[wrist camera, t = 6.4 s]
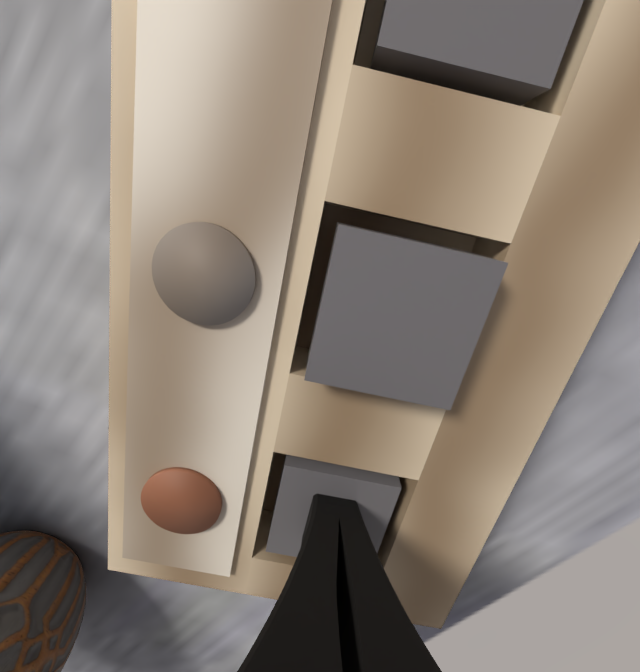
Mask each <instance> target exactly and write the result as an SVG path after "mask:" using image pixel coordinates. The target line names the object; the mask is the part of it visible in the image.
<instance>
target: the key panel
mask: <svg viewBox="0 0 640 672" xmlns="http://www.w3.org/2000/svg"><path fill="white" fill-rule="evenodd" d="M384 2H385V0H112V33H111V178H110V322H109V467H108V570H113V571H119V572H124V573H130V574H135V575H141V576H147V577H152V578H158V579H164V580H169V581H175V582H180V583H186V584H192V585H197V586H203V587H209V588H214V589H220V590H225V591H231V592H237V593H242V594H248V595H254V596H259V597H265V598H270V599H276V600H278V598H279V596H280V594H281V592H282V590H283V588H284V586H285V583H286V581H287V579H288V577H289V574H290V572H291V570H292V567H293V565H294V563H295V560H296V558H297V557H293V556H287V555H282V554H277V553H271V552H266V546H267V541H268V536H269V530H270V525H271V520H272V515H273V510H274V505H275V500H276V495H277V491H278V486H279V482H280V477H281V473H282V468H283V463H284V459H285V454H287V455H292V456H297V457H302V458H307V459H312V460H317V461H322V462H328V463H333V464H338V465H343V466H348V467H353V468H358V469H363V470H368V471H373V472H378V473H384V474H389V475H394V476H399V480H400V484H401V491H400V494H399V496H398V499H397V502H396V504H395V507H394V510H393V513H392V515H391V518H390V521H389V523H388V526H387V529H386V531H385V534H384V537H383V539H382V542H381V545H380V547H379V550H378V553H377V555H378V557H379V559H380V561H381V563H382V566H383V568H384V570H385V572H386V574H387V576H388V578H389V580H390V582H391V585H392V587H393V588H394V590H395V592H396V594H397V596H398V598H399V600H400V602H401V604H402V606H403V608H404V610H405V611H406V613H407V615H408V617H409V619H410V620H411V622H412V624H417V625H422V626H428V627H433V628H439V629H441V628H442V626H443V624H444V622H445V620H446V618H447V616H448V614H449V612H450V610H451V608H452V606H453V604H454V602H455V601H456V599H457V597H458V595H459V593H460V591H461V589H462V587H463V585H464V583H465V581H466V579H467V577H468V575H469V573H470V571H471V569H472V567H473V565H474V563H475V562H476V560H477V558H478V556H479V554H480V552H481V550H482V548H483V546H484V544H485V542H486V540H487V538H488V536H489V534H490V532H491V530H492V528H493V526H494V524H495V523H496V521H497V519H498V517H499V515H500V513H501V511H502V509H503V507H504V505H505V503H506V501H507V499H508V497H509V495H510V493H511V491H512V489H513V487H514V485H515V483H516V482H517V480H518V478H519V476H520V474H521V472H522V470H523V468H524V466H525V464H526V462H527V460H528V458H529V456H530V454H531V452H532V450H533V448H534V446H535V444H536V443H537V441H538V439H539V437H540V435H541V433H542V431H543V429H544V427H545V425H546V423H547V421H548V419H549V417H550V415H551V413H552V411H553V409H554V407H555V405H556V404H557V402H558V400H559V398H560V396H561V394H562V392H563V390H564V388H565V386H566V384H567V382H568V380H569V378H570V376H571V374H572V372H573V370H574V368H575V366H576V364H577V363H578V361H579V359H580V357H581V355H582V353H583V351H584V349H585V347H586V345H587V343H588V341H589V339H590V337H591V335H592V333H593V331H594V329H595V327H596V325H597V324H598V322H599V320H600V318H601V316H602V314H603V312H604V310H605V308H606V306H607V304H608V302H609V300H610V298H611V296H612V294H613V292H614V290H615V288H616V286H617V284H618V283H619V281H620V279H621V277H622V275H623V273H624V271H625V269H626V267H627V265H628V263H629V261H630V259H631V257H632V255H633V253H634V251H635V249H636V247H637V245H638V244H639V242H640V0H584V1H583V3H582V6H581V9H580V12H579V14H578V17H577V20H576V22H575V25H574V28H573V30H572V33H571V36H570V38H569V41H568V44H567V46H566V49H565V52H564V54H563V57H562V60H561V62H560V65H559V68H558V70H557V73H556V76H555V79H554V81H553V84H552V87H551V89H550V90H548V91H546V92H544V93H542V94H541V95H539V96H537V97H535V98H534V99H532V100H530V101H528V102H527V103H525V104H523V105H521V106H518V105H514V104H510V103H506V102H502V101H498V100H494V99H490V98H486V97H482V96H478V95H474V94H470V93H466V92H462V91H458V90H454V89H450V88H446V87H442V86H438V85H434V84H430V83H426V82H421V81H417V80H413V79H409V78H405V77H401V76H397V75H393V74H389V73H385V72H381V71H377V70H373V69H370V66H371V61H372V57H373V52H374V48H375V43H376V39H377V34H378V29H379V25H380V20H381V16H382V11H383V7H384ZM337 222H339V223H344V224H348V225H353V226H357V227H361V228H366V229H370V230H375V231H379V232H383V233H388V234H392V235H397V236H401V237H405V238H410V239H414V240H419V241H423V242H427V243H432V244H436V245H441V246H445V247H449V248H454V249H458V250H463V251H467V252H471V253H475V254H479V255H482V256H486V257H489V258H493V259H497V260H500V261H504V262H507V263H508V266H507V268H506V271H505V273H504V276H503V278H502V281H501V283H500V286H499V288H498V291H497V294H496V296H495V299H494V301H493V304H492V306H491V309H490V311H489V314H488V316H487V319H486V321H485V324H484V326H483V329H482V331H481V334H480V336H479V339H478V342H477V344H476V347H475V349H474V352H473V354H472V357H471V359H470V362H469V364H468V367H467V369H466V372H465V374H464V377H463V379H462V382H461V385H460V387H459V390H458V392H457V395H456V397H455V400H454V402H453V405H452V407H451V410H446V409H441V408H436V407H431V406H426V405H421V404H416V403H412V402H407V401H402V400H397V399H392V398H387V397H382V396H378V395H373V394H368V393H363V392H358V391H353V390H349V389H344V388H339V387H334V386H329V385H324V384H319V383H315V382H310V381H305V380H304V378H305V372H306V366H307V360H308V353H309V348H310V343H311V339H312V334H313V330H314V325H315V320H316V316H317V311H318V307H319V302H320V298H321V293H322V289H323V284H324V279H325V275H326V270H327V266H328V261H329V257H330V252H331V248H332V243H333V238H334V234H335V229H336V225H337Z"/></svg>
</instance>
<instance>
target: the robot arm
mask: <svg viewBox="0 0 640 672" xmlns="http://www.w3.org/2000/svg"><path fill="white" fill-rule="evenodd" d="M237 672H442V671H441V670H440V668H439V667H438V665H437V664H436V662H435V660H434V659H433V657H432V656H431V654H430V652H429V651H428V649H427V648H426V646H425V644H424V643H423V641H422V639H421V638H420V636H419V634H418V633H417V631H416V629H415V627H414V626H413V624H412V622H411V620H410V619H409V617H408V615H407V613H406V611H405V610H404V608H403V606H402V604H401V602H400V600H399V598H398V596H397V594H396V592H395V590H394V588H393V587H392V585H391V582H390V580H389V578H388V576H387V574H386V572H385V570H384V568H383V566H382V563H381V561H380V559H379V557H378V555H377V552H376V550H375V548H374V545H373V543H372V541H371V538H370V536H369V533H368V531H367V528H366V526H365V523H364V521H363V518H362V515H361V512H360V510H359V507H358V504H357V502H356V501H355V500H350V499H344V498H339V497H334V496H328V495H323V494H318V493H317V494H315V495H313V499H312V502H311V506H310V510H309V514H308V517H307V521H306V525H305V529H304V533H303V536H302V542H301V548H300V551H299V553H298V556H297V558H296V560H295V563H294V565H293V567H292V570H291V572H290V574H289V577H288V579H287V581H286V583H285V586H284V588H283V590H282V592H281V594H280V596H279V598H278V600H277V602H276V604H275V606H274V608H273V610H272V612H271V614H270V616H269V617H268V619H267V621H266V623H265V625H264V627H263V628H262V630H261V632H260V634H259V636H258V638H257V639H256V641H255V643H254V645H253V646H252V648H251V650H250V652H249V653H248V655H247V657H246V658H245V660H244V662H243V663H242V665H241V666H240V668H239V670H238V671H237Z"/></svg>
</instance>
